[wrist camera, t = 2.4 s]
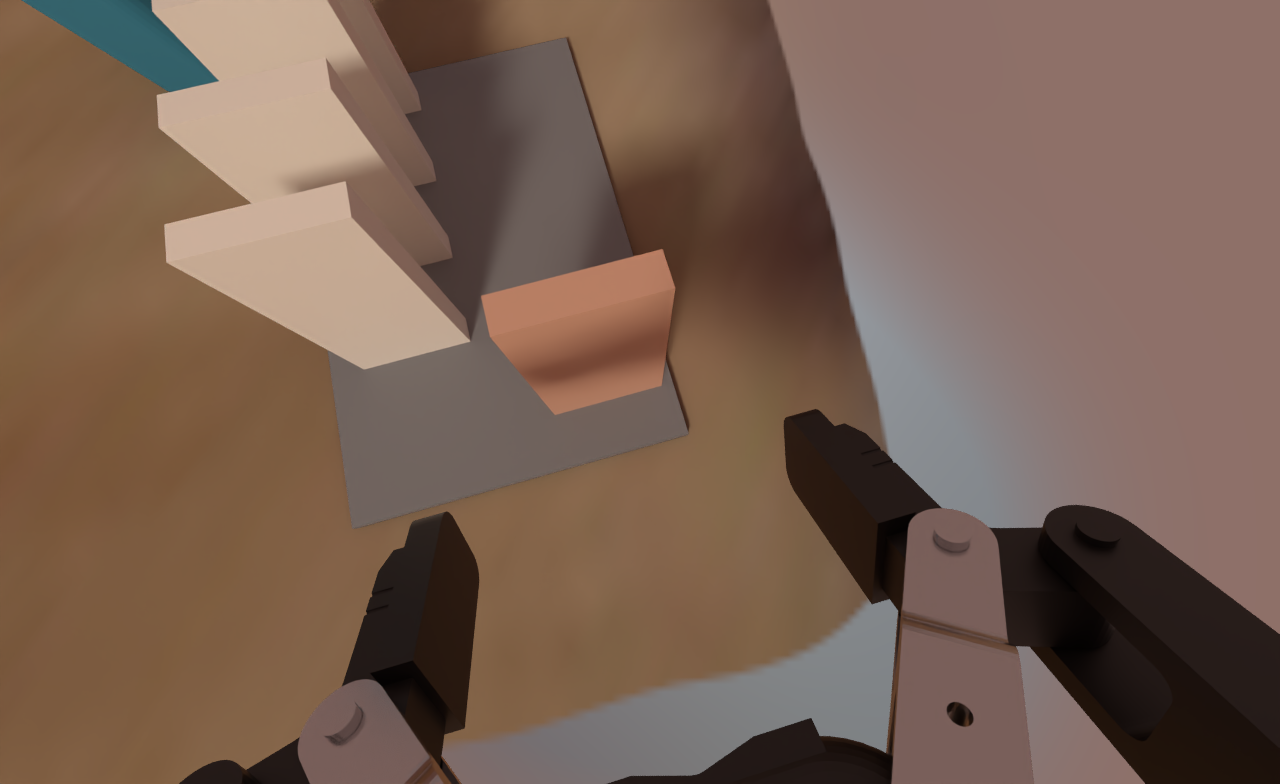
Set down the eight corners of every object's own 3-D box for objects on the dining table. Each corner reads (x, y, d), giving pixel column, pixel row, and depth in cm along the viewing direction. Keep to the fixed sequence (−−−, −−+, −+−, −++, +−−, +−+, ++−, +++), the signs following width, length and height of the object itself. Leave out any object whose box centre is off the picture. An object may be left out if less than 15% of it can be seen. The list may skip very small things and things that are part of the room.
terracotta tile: (661, 385, 23) (675, 288, 13) (555, 415, 23) (489, 337, 13) (654, 361, 23) (662, 249, 14) (548, 390, 23) (480, 295, 13)
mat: (687, 434, 23) (688, 433, 23) (357, 528, 22) (352, 528, 22) (566, 44, 28) (565, 37, 28) (298, 105, 28) (293, 99, 27)
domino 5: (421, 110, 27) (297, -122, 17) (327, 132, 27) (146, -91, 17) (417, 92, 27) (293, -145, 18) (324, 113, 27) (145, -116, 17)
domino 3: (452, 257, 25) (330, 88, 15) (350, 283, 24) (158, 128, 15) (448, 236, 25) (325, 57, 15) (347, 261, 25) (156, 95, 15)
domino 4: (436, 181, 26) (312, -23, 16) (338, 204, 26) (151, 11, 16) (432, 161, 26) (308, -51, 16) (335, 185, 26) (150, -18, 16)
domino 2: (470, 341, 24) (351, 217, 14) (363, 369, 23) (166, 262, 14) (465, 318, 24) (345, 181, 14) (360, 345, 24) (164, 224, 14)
